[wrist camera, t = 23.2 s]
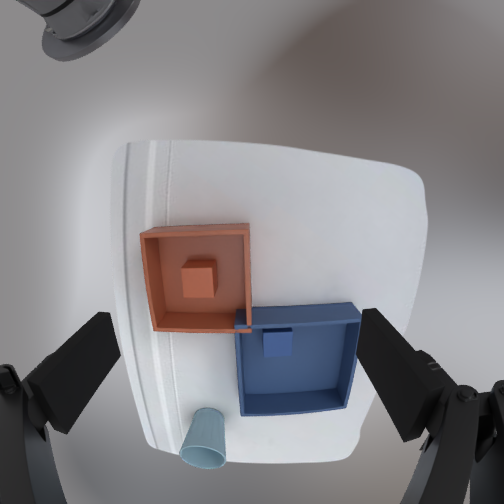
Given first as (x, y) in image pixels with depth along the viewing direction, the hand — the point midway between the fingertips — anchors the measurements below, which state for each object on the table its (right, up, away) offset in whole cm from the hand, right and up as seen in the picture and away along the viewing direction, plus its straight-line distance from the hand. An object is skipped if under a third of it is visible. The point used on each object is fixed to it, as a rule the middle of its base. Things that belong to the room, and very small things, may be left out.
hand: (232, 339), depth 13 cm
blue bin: (+7, -12, +28) cm, 31 cm away
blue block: (+4, -7, +26) cm, 28 cm away
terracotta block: (-6, +1, +25) cm, 25 cm away
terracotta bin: (-6, +1, +25) cm, 26 cm away
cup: (-7, -27, +32) cm, 42 cm away
